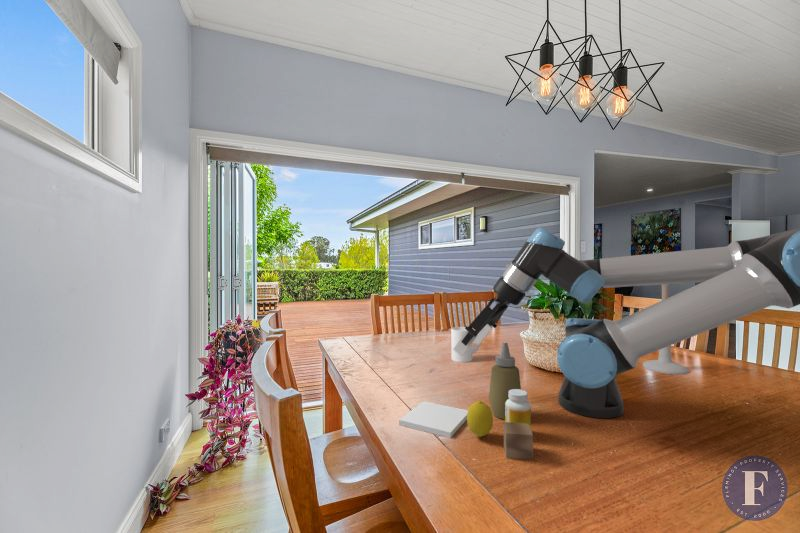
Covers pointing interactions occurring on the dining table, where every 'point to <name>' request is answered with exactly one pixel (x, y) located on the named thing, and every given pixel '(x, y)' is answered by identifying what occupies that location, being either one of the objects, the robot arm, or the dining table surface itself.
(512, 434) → the grey cube
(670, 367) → the candlestick
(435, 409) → the grey board
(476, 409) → the lemon
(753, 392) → the dining table surface
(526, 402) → the supplement bottle
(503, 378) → the squeeze bottle
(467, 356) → the mug
